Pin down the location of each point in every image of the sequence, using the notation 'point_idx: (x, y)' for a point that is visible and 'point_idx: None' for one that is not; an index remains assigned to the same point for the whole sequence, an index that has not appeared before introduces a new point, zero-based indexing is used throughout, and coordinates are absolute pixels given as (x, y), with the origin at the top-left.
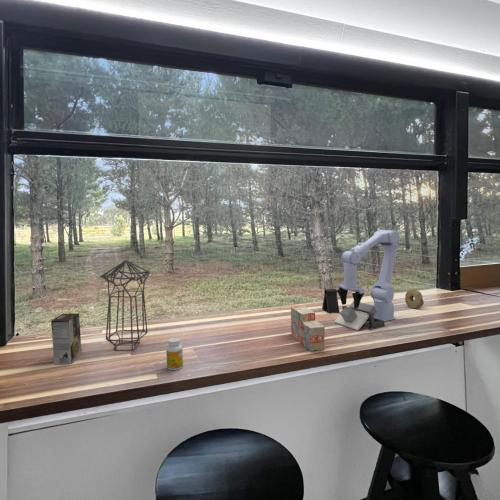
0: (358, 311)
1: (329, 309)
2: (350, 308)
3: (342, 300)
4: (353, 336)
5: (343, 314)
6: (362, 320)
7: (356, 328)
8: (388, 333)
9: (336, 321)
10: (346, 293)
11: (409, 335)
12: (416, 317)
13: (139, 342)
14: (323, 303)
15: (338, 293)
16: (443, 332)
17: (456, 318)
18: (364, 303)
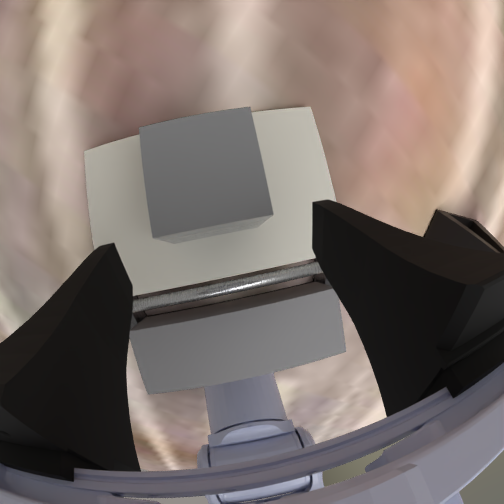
0: (212, 290)
1: (450, 224)
2: (186, 221)
3: (341, 226)
4: (18, 77)
5: (200, 117)
6: (102, 233)
7: (91, 152)
8: (32, 280)
9: (295, 113)
10: (376, 360)
11: (15, 328)
12: (201, 424)
13: None
14: (491, 236)
15: (462, 248)
16: None
17: (163, 453)
18: (236, 379)
